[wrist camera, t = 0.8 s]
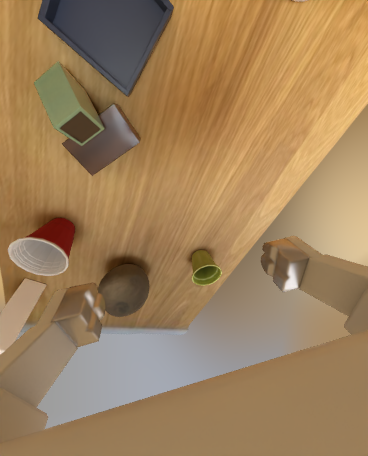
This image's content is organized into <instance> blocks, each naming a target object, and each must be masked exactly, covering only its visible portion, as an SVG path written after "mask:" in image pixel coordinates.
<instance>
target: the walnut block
mask: <svg viewBox="0 0 368 456" xmlns="http://www.w3.org/2000/svg"><path fill="white" fill-rule="evenodd" d="M98 116H99V118H100V120H101V122H102V124H103V126H104V128H105V129H104V130H103V131H101V132H100V133H99V134H97V135H96V136H95V137H93V138H92V139H91V140H89V141H88V142H87V143H85V144H84V145H83V146H81V145H79V144H78V143H76V142H75V141H73V140H72V139H70V138H69V139H67V140H66V141H65V142H63V143H62V145H63V146H64V147H65V148H66V149H67V150H68V151H69V152H70V153H71V154H72V155H73V156H74V157H75V158H76V159H77V160H78V161H79V163H80V164H81V165H82V166H83V167H84V168H85V169H86V170H87V171H88V172H89V173H90V174H91V175H92V176H93V175H94V174H96V173H97V172H98V171H100V170H101V169H103V168H104V167H106V166H107V165H108V164H110V163H111V162H113V161H114V160H116V159H117V158H118V157H120V156H121V155H123V154H124V153H125V152H127V151H128V150H130V149H131V148H133V147H134V146H135V145H137V144H138V143H140V137H139V136H138V134H137V133H136V131H135V130H134V128H133V127H132V125H131V124H130V122H129V121H128V119H127V118H126V116H125V115H124V113H123V112H122V110H121V109H120V107H119V106H118V104H113V105H111V106H110V107H109V108H107V109H106V110H105V111H103V112H102V113H101V114H100V115H98Z"/></svg>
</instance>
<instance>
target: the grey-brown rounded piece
mask: <svg viewBox="0 0 368 456" xmlns="http://www.w3.org/2000/svg"><path fill="white" fill-rule="evenodd" d="M98 293H100V294H102V295H103V297H104V300H105V309H106V311H107V312H108V313H109V314H110V315H112V316H116V317H123V316H128V315H130V314H132V313H134V312H136V311H137V310H139V309H140V308H141V307H142V306H143V304H144V303H145V301H146V299H147V297H148V293H149V280H148V277H147V275H146V273H145V272H144V271H143V270H142V269H141V268H140V267H139V266H137V265H133V264H124V265H120V266H118V267H115V268H113V269H112V270H110V271H109V272H108V273H107V274H106V275H105V276H104V278H103V279H102V280H101V282H100V284H99V287H98Z"/></svg>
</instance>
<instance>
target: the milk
mask: <svg viewBox="0 0 368 456" xmlns="http://www.w3.org/2000/svg"><path fill="white" fill-rule="evenodd" d="M45 287H46V284H43V283H40V282H36V281H33V280H30V279H27V278H25V279H24V280H23V282H22V283H21V285H20V286H19V287H18V289H17V290H16V292H15V293H14V294H13V296H12V297H11V299H10V300H9V301H8V303H7V304H6V306H5V307H4V309H3V310H2V311H1V313H0V355H1V354H2V353H3V352H4V351H5V350H6V349H7V348H8V347H10V346H11V345H12V344H13V343H14V342H15V340H16V338H17V336H18V334H19V333H20V331H21V329H22V327H23V326H24V324H25V322H26V320H27V319H28V317H29V315H30V313H31V311H32V310H33V308H34V306H35V304H36V303H37V301H38V299H39V297H40V296H41V294H42V292H43V290H44V288H45Z"/></svg>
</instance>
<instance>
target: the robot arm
mask: <svg viewBox="0 0 368 456" xmlns="http://www.w3.org/2000/svg"><path fill="white" fill-rule="evenodd" d="M293 1H296V2H304V1H308V0H293ZM263 251H264V252H265V253H264V254H263V255H262V257H261V263H262V267H263V269H264V271H265V272H266V273H267V274H268V275H270V276H272V277H273V282H274V283H275V284H276V285H277V286H278V287H279V289H280V290H281V291H282V292H285V291H289V290H293V289H298V288H300V290H302V291H304V292H306V293H307V294H309V295H311V296H313V297H315V298H316V299H318V300H320V301H322V302H324V303H326V304H327V305H329V306H331V307H333V308H335V309H336V310H338V311H340V312H342V313H344V314H345V315H347V316H349V317H348V319H347V321H346V322H345V324H344V327H345V329H346V330H347V331H348V332H349V333H350V334H351V335H349V336H346V337H342V338H339V339H336V340H333V341H330V342H326V343H323V344H320V345H317V346H313V347H310V348H307V349H304V350H300V351H297V352H294V353H291V354H287V355H284V356H281V357H278V358H274V359H271V360H268V361H265V362H262V363H259V364H255V365H252V366H248V367H245V368H242V369H239V370H236V371H233V372H229V373H226V374H223V375H219V376H216V377H213V378H210V379H206V380H203V381H200V382H197V383H193V384H190V385H187V386H184V387H180V388H177V389H174V390H171V391H167V392H164V393H161V394H158V395H154V396H151V397H148V398H145V399H142V400H138V401H135V402H132V403H129V404H125V405H122V406H119V407H116V408H112V409H109V410H106V411H103V412H99V413H96V414H93V415H90V416H87V417H83V418H80V419H77V420H74V421H71V422H67V423H64V424H61V425H57V426H54V427H51V428H48V429H45V426H46V423H47V420H48V416H47V414H46V413H45V412H43V411H41V410H39V409H38V408H36V407H37V406H38V404H39V403H40V402H41V400H42V399H43V397H44V396H45V395H46V393H47V392H48V390H49V389H50V387H51V386H52V385H53V383H54V382H55V380H56V379H57V377H58V376H59V374H60V373H61V372H62V370H63V369H64V367H65V366H66V365H67V363H68V361H69V360H70V359H71V357H72V356H73V355H74V353H75V351H76V350H77V347H80V346H83V345H87V344H90V343H94V342H97V341H99V338H100V333H101V329H102V324H101V323H100V320H101V319H102V318H103V317H104V315H105V310H106V309H105V300H104V297H103V295H102V294H100V293H98V292H97V291H98V287H97V285H96V283H88V284H84V285H79V286H74V287H70V288H65V289H61V290H57V291H56V292H54V294H53V296H52V298H51V299H50V301H49V303H48V305H47V306H46V308H45V310H44V312H43V314H42V315H41V317H40V319H39V321H38V323H37V324H36V326H35V327H32V328H30V329H29V330H28V331H27V332H26V333H24V334H23V335H22V336H21V337H20V338H19V339H18V340H16V341H15V342H14V343H13V344H12V345H11V346H10V347H8V348H7V349H6V350H5V351H4V352H3V353H2V354H1V355H0V456H368V267H367V266H363V265H360V264H356V263H353V262H350V261H346V260H343V259H340V258H336V257H333V256H330V255H322V254H321V253H319V252H318V251H316V250H314V249H313V248H312V247H311V246H309V245H308V244H306V243H305V242H303V241H302V240H300V239H299V238H298V237H296V236H291V237H287V238H284V239H279V240H275V241H271V242H266V243H264V245H263Z"/></svg>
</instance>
